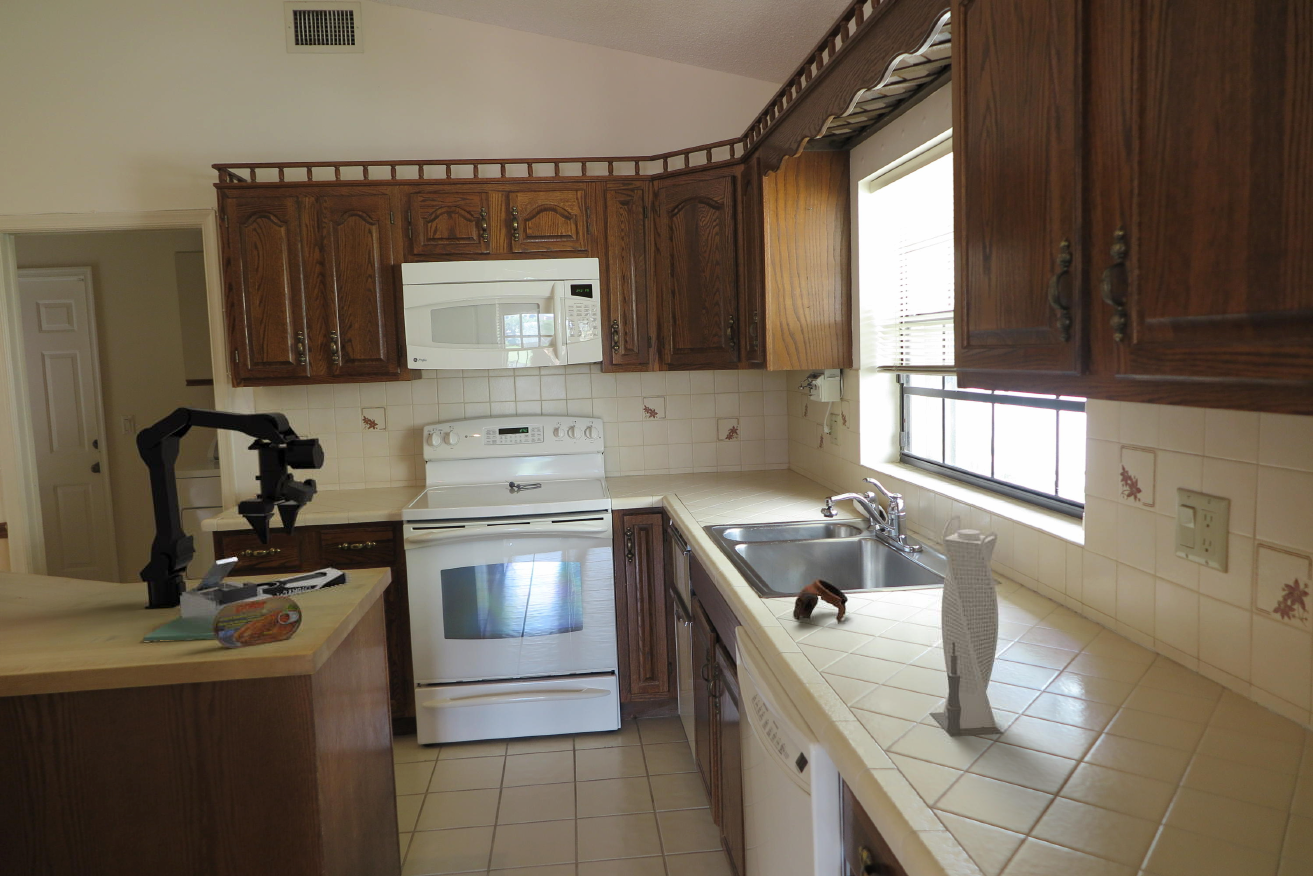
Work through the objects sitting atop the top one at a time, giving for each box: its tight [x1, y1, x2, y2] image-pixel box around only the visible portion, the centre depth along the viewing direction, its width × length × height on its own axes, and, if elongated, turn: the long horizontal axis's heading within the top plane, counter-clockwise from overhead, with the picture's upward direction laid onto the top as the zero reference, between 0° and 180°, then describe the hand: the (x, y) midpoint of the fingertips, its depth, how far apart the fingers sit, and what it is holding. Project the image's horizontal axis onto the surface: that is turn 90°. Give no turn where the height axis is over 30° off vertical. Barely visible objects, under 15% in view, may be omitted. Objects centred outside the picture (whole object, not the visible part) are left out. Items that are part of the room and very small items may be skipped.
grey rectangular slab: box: [195, 556, 239, 592], centre depth 167 cm, size 12×4×1 cm
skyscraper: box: [929, 515, 1004, 737], centre depth 110 cm, size 8×8×28 cm
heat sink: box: [180, 580, 266, 631], centre depth 166 cm, size 15×10×8 cm, turn 53°
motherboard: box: [143, 615, 217, 642], centre depth 167 cm, size 20×20×1 cm
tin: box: [213, 596, 303, 649], centre depth 154 cm, size 15×3×8 cm, turn 117°
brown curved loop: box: [792, 578, 849, 622], centre depth 157 cm, size 12×9×8 cm
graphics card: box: [256, 567, 351, 597], centre depth 191 cm, size 10×3×25 cm
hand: (277, 539), depth 182 cm, fingers open, 9 cm apart
